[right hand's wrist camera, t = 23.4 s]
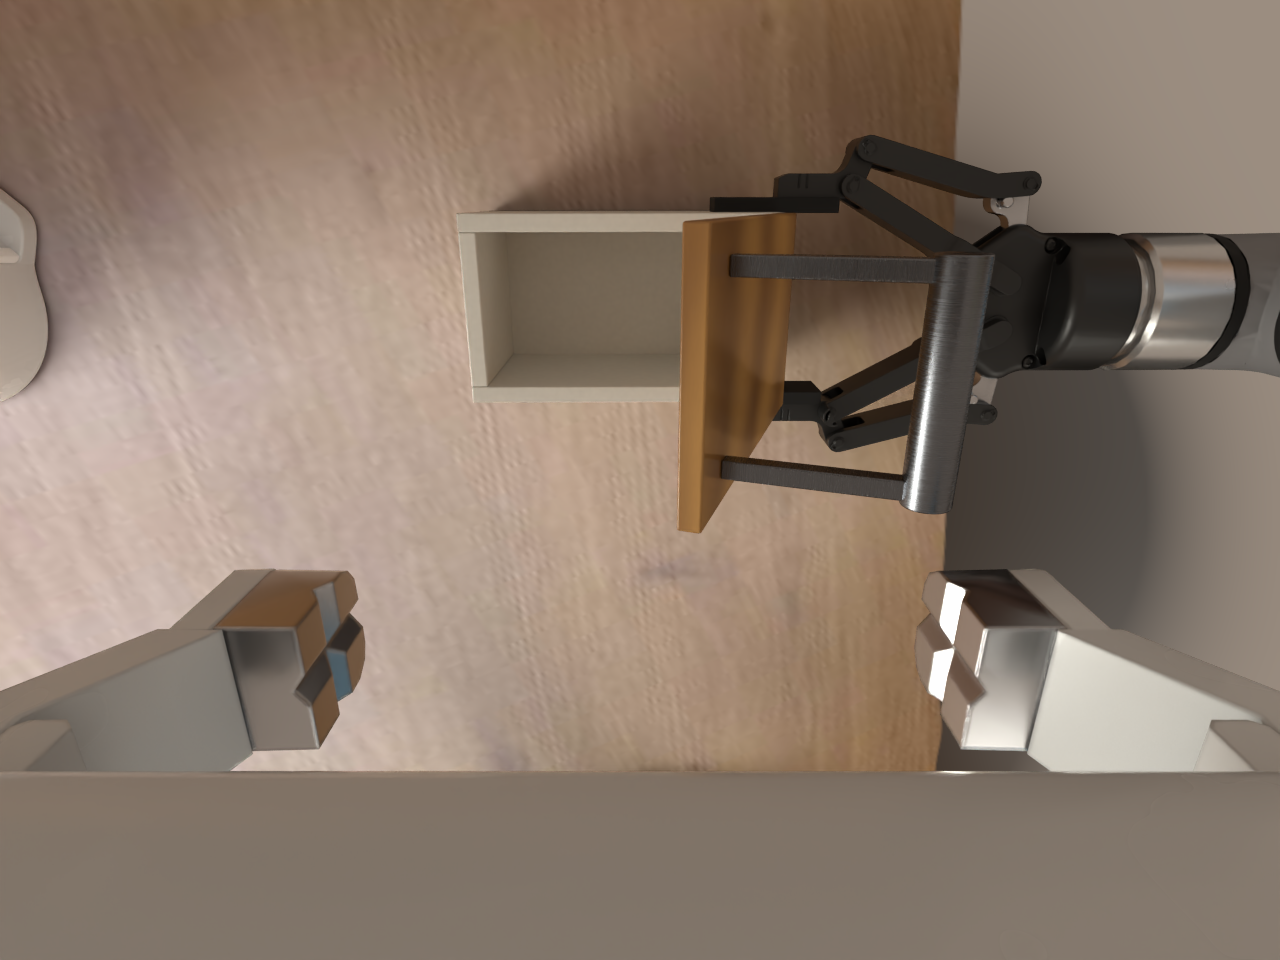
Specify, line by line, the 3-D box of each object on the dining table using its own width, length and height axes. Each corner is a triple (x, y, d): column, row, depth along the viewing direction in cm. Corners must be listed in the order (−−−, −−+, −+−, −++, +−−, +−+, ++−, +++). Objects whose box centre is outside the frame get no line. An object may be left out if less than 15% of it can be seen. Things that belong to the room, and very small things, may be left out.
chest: (503, 364, 48) (472, 403, 39) (492, 210, 44) (455, 212, 35) (747, 364, 48) (773, 402, 39) (755, 210, 44) (786, 212, 35)
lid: (676, 531, 24) (952, 572, 21) (681, 220, 20) (1014, 222, 17) (766, 403, 39) (934, 418, 36) (779, 212, 35) (966, 213, 32)
